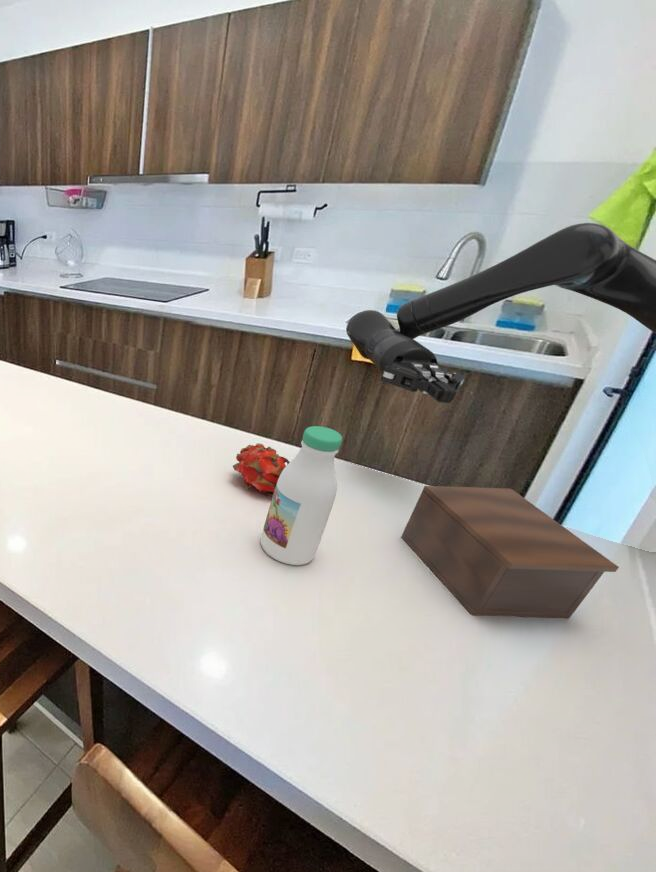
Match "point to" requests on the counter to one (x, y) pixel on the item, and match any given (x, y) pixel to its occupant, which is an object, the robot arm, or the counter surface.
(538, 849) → the counter surface
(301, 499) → the milk bottle
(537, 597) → the tea box
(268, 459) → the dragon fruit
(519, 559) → the tea lid
